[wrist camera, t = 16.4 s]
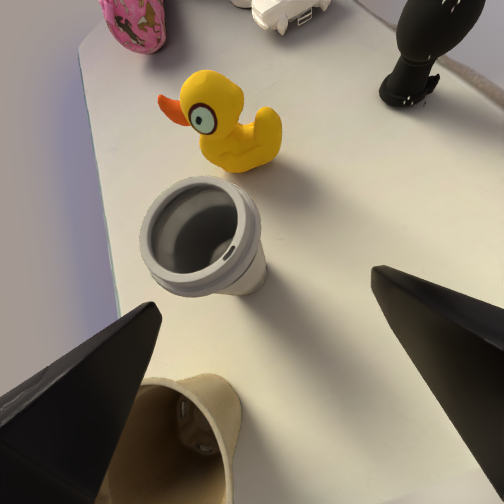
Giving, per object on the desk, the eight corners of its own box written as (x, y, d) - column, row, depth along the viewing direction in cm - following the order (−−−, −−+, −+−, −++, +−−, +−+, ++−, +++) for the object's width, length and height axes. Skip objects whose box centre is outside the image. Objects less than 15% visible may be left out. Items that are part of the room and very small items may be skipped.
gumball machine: (429, 118, 23) (523, -22, 13) (370, 117, 24) (416, -8, 15) (431, 73, 24) (516, -79, 15) (375, 75, 26) (420, -62, 16)
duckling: (193, 181, 27) (138, 108, 17) (201, 147, 28) (154, 63, 19) (282, 180, 24) (273, 93, 15) (286, 142, 26) (279, 42, 16)
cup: (249, 321, 20) (190, 326, 9) (201, 281, 22) (106, 246, 11) (291, 262, 21) (285, 200, 10) (241, 229, 23) (189, 148, 12)
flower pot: (239, 338, 20) (199, 353, 12) (279, 456, 17) (263, 589, 8) (153, 374, 20) (59, 412, 12) (175, 496, 17) (68, 655, 9)
